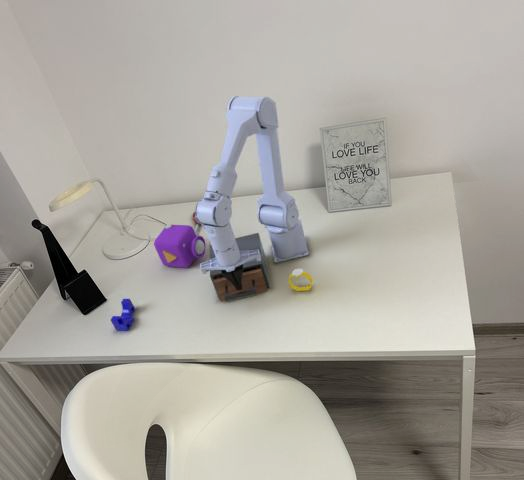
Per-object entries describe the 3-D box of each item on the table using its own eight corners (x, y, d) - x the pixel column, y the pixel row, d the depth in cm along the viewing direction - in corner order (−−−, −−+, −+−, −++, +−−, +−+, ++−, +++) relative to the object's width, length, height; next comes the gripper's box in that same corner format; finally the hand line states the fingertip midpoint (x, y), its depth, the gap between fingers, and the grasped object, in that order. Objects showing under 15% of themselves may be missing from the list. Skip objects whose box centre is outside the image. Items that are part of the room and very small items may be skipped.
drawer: (269, 303, 136) (262, 283, 132) (221, 314, 137) (213, 295, 133) (263, 261, 149) (257, 241, 145) (220, 271, 150) (212, 252, 146)
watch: (315, 285, 138) (311, 267, 134) (313, 293, 137) (309, 275, 133) (292, 286, 140) (287, 268, 136) (290, 293, 138) (285, 275, 135)
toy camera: (205, 269, 154) (193, 241, 148) (161, 272, 158) (148, 245, 152) (214, 245, 162) (203, 217, 155) (172, 248, 166) (160, 221, 159)
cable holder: (128, 331, 143) (121, 320, 140) (116, 330, 144) (110, 320, 141) (140, 309, 148) (134, 298, 146) (129, 309, 149) (123, 298, 147)
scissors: (210, 211, 176) (209, 208, 175) (201, 237, 166) (200, 235, 165) (194, 213, 177) (193, 211, 177) (185, 239, 167) (184, 237, 167)
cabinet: (270, 288, 142) (262, 263, 136) (219, 300, 143) (209, 276, 137) (265, 257, 152) (258, 232, 146) (218, 268, 153) (209, 244, 147)
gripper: (193, 262, 124) (211, 304, 133) (255, 247, 123) (269, 291, 132) (194, 244, 130) (211, 286, 139) (253, 229, 128) (266, 273, 137)
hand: (239, 287), depth 136 cm, fingers closed
